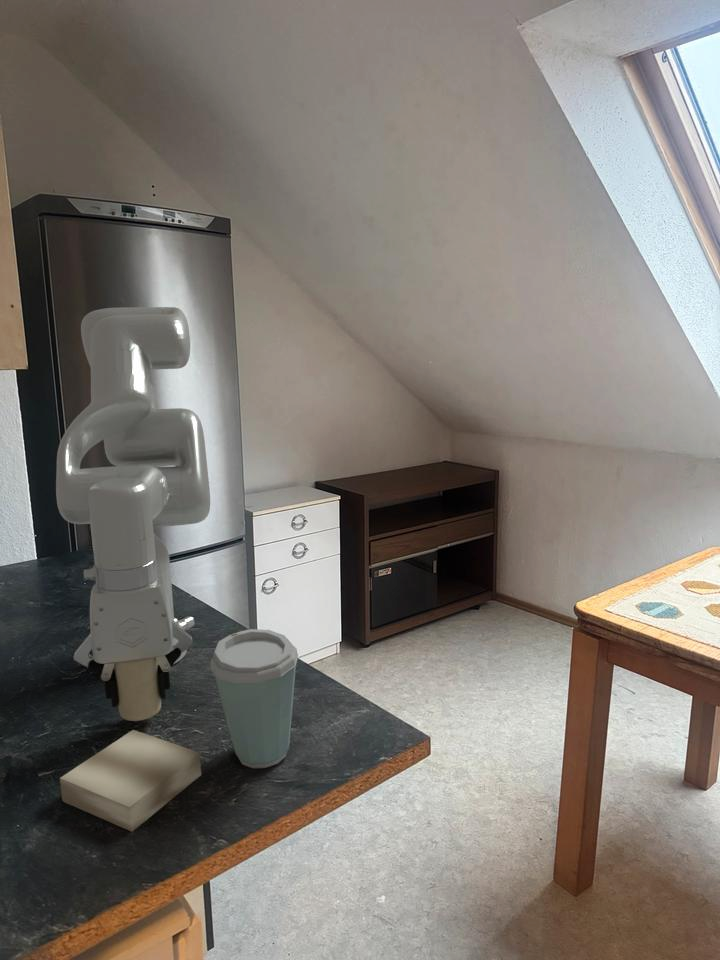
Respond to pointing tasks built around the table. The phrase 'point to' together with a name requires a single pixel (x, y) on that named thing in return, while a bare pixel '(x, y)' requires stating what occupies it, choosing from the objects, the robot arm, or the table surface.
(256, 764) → the disposable coffee cup
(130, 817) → the plinth
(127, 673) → the candle
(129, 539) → the robot arm
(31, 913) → the table surface
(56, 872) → the table surface
